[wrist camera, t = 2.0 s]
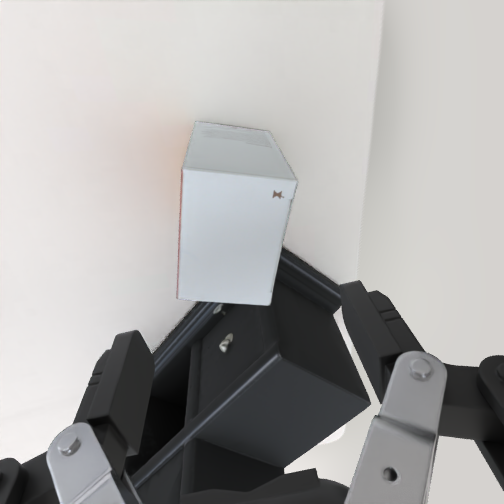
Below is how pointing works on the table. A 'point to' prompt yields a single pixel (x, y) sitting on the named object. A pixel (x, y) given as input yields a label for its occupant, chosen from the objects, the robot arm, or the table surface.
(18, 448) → the table surface
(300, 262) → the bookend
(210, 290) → the small box
